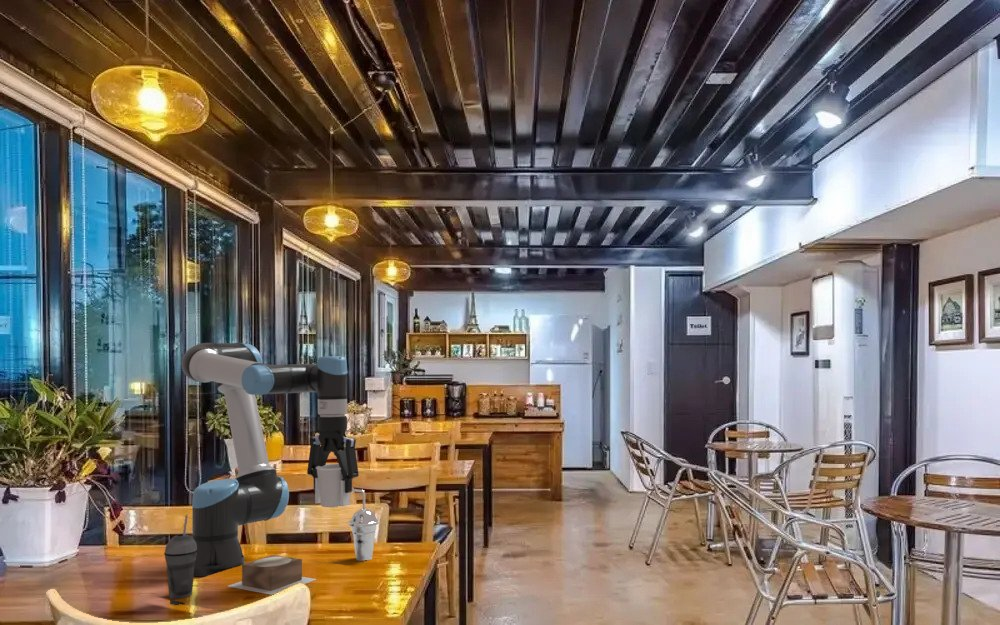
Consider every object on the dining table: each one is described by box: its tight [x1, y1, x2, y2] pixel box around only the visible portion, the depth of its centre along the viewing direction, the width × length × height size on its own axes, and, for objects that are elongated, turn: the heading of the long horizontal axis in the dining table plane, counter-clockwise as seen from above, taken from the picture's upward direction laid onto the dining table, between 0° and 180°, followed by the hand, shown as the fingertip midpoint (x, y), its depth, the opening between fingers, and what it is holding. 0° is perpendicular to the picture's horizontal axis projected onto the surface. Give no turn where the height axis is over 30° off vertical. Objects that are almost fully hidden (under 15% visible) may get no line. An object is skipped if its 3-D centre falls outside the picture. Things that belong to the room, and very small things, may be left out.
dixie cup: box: [316, 463, 343, 508], centre depth 192 cm, size 8×8×10 cm
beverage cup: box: [164, 514, 198, 606], centre depth 175 cm, size 7×7×20 cm
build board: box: [227, 576, 317, 596], centre depth 183 cm, size 16×14×2 cm
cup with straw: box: [348, 488, 380, 562], centre depth 210 cm, size 8×9×20 cm
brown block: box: [241, 554, 303, 591], centre depth 183 cm, size 10×10×5 cm
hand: (332, 503), depth 192 cm, fingers closed on dixie cup, 8 cm apart
